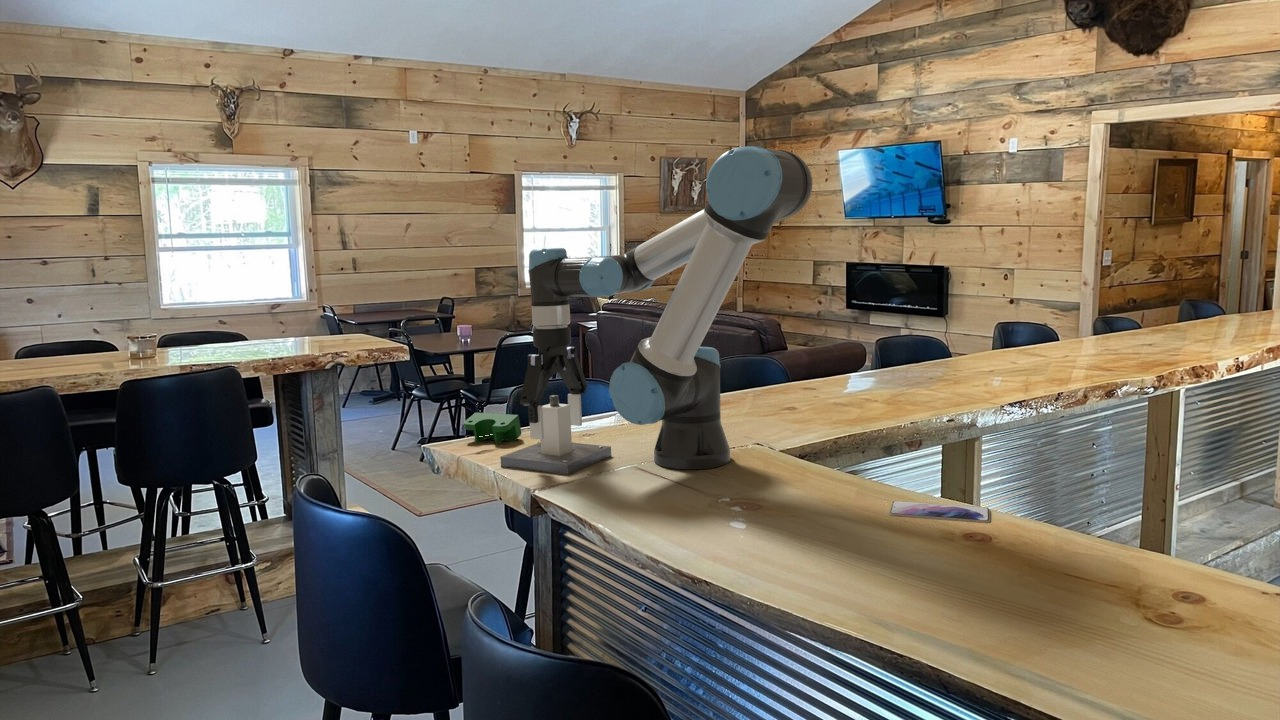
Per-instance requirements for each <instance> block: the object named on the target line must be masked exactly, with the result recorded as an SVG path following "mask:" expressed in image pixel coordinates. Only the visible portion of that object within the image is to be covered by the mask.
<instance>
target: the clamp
mask: <svg viewBox="0 0 1280 720" xmlns="http://www.w3.org/2000/svg"><path fill="white" fill-rule="evenodd" d="M463 424H464V429H465V430H467V431H473V435H474V439H475V443H476V444H479V443H480V442H482V441H484V440H493V441H494V444H495V445H499V444H500V443H501V442H502V441H509V442H510V441H511V442H514V441H515V442H516V440H518V438H520V437H521V436H522V428H521V422H520V418H519V414H508V413H507V414H506V413H489V412H487V413H486V412H474V413H473V414H472V415H471V416H470V417H468V418H467V419H466V420H465V421H463ZM490 434H493V435H490ZM485 435H489V436H485ZM479 436H483V437H479Z"/></svg>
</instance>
